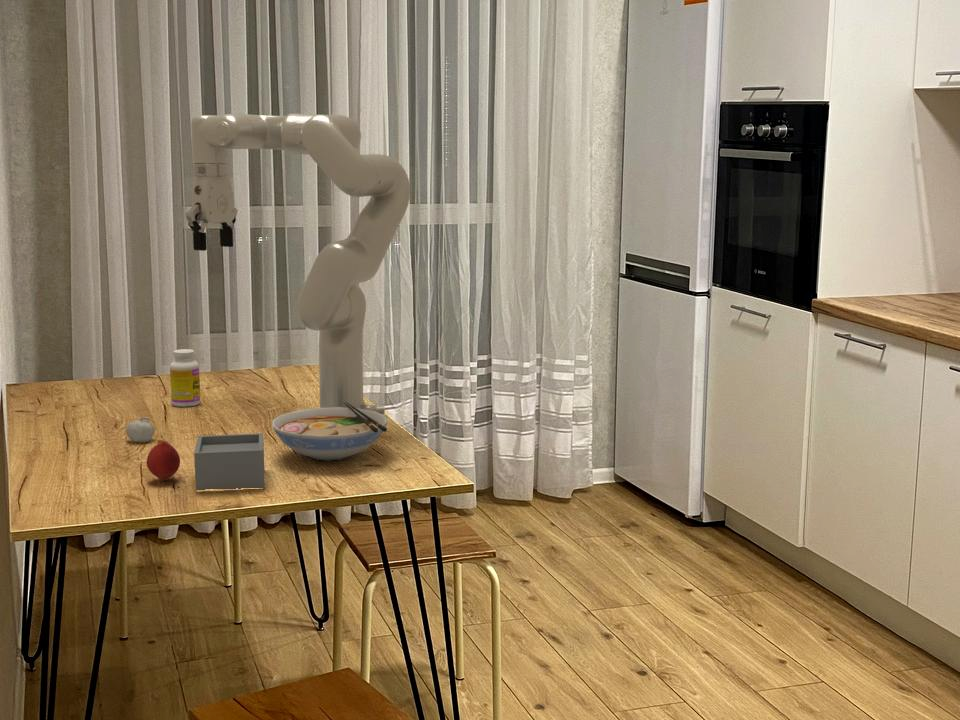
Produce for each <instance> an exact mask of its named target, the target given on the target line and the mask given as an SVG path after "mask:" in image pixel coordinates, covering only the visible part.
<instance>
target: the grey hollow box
mask: <svg viewBox="0 0 960 720" xmlns="http://www.w3.org/2000/svg"><path fill="white" fill-rule="evenodd" d="M264 443H265V441H264V432H260V433H259V432H258V433H239V434H238V433H236V434H235V433H234V434H232V433H231V434H217V435H216V434H214V435H213V434H212V435H197V440H196V443H195V448H194V452H193V453H194V454H193V457H194V458H193V459H194V476H195V480H194V481H195V491H196V490H205V489H236V488H238V489H241V488H265V487H266V486H265V485H266V484H265V483H264V475H265V450H264Z"/></svg>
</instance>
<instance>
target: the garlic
mask: <svg viewBox="0 0 960 720" xmlns="http://www.w3.org/2000/svg"><path fill="white" fill-rule="evenodd" d="M149 420H150V417H148V416H143V417H140V418H139V419H136V420H134V421H131V422H129V423H128V425H127V426H126V436H127V437H128V438H129V440H130V441H131V442H135V443H138V444H139V443H147V442H149V441H150V440H152V438H153V436H154V435H155V433H156V432H155V431H156V430H155V429H156V428H155V426H154V425H153V424H152V423H151V422H150V421H149Z"/></svg>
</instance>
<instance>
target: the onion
mask: <svg viewBox="0 0 960 720" xmlns="http://www.w3.org/2000/svg"><path fill="white" fill-rule="evenodd" d="M157 442H158V443H157V444H156V445H154V446H153V447H152V448H151V449H150V450H149V453H148V455H147V456H146V457H147V458H146V466H147V469H148V470H149V472H150V473H151V474H152V475H153V476H155V477H156V478H157V479H159V480H160V481H161V480H166V481H167V479H168V480H169V479H170V478H172V477H173V476H174V475H175V474H176V473H177V471H178V470H179V468H180V465H181V457H180V454H179V453H178V451H177V449H176V447H175V448H174V446H173V445H171V444H170V443H168V442H167V441H166V440H165V439H163V438H159V439H158V440H157Z"/></svg>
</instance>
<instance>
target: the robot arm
mask: <svg viewBox="0 0 960 720" xmlns="http://www.w3.org/2000/svg"><path fill="white" fill-rule="evenodd" d="M190 123H191V125H190V126H191V129H190V130H191V149H192V167H193V168H192V170H193V171H192V172H193V178H192V187H191V207H190V209H189V210H188V211H187V212H186V213H185V217H186V221H187V222H188V223H187V225H188V226H189V228H190V232H191V233H192V245H193V250H194V251H202V252H203V251H207V250H208V247H207V244H208V242H207V232H205V230H206V227H207V225H208V224H219V226H220V229H219V238H220V239H219V244H220V245H219V246H220V247H226V248H227V247H228V248H232V247H233V246H234V234H233V233H234V231H233V229H234V228H235V222H236V220H237V215H238V209H237V208H236V207H235V202H234V194H233V193H234V192H233V187H232V183H231V178H230V177H229V166H228V165H229V164H228V150H259V149H260V150H278V151H279V150H280V151H282V150H283V151H286V152H287V153H288V154H291V155H309V156H310V157H311V159H312V160H313V161H314V162H315V163H316V164H317V166H318V167H319V168H320V169H321V170H322V172H323V173H324V174H325V175H326V176H327V177H328V178H329V179H330V180H331V182H332V183H333V184H334V185H335V187H337V188H338V189H339V190H340V191H341V192H343V193H344V194H346V195H348V196H350V197H355V198H361V197H362V198H363V197H369V200H368V202H367V204H365V205H364V207H363V208H362V210H361V211H360V213H359V214H358V216H357V219H356V220H355V223H354V226H353V227H352V228H351V231H350V233H349V234H348V236H347V237H345V238H344V239H341V240H336V241H333V242H330V243H328V244H327V245H326V246H324V247H323V248H322V249H321V251H320V252H319V253H318V255H317V256H316V258H315V260H314V262H313V264H312V267H311V269H310V271H309V274H308V275H307V278H306V279H305V282H304V284H303V287H302V289H301V291H300V293H299V296H298V299H297V303H296V310H297V311H296V313H297V317H298V318H299V320H300V322H301V324H302V325H304V326H305V327H306V328H307V329H309V330H311V331H320V334H319V338H318V367H319V368H318V374H319V375H318V377H319V381H318V382H319V408H330V407H344V408H348V407H347V406H346V405H345V404H347V403H348V404H350V405H352V406H353V407H355V408H360V409H365V410H370V411H375V412H378V413H380V414H382V415H385V412H386V411H385V405H378V404H371V405H369V404H367V403H366V402H365V400H364V372H363V371H364V366H363V364H364V363H363V362H364V361H363V353H364V352H363V351H364V349H363V348H364V347H363V346H364V345H363V344H364V343H363V342H364V341H363V340H364V325H365V318H366V311H367V310H366V309H367V301H366V297H365V294H364V292H363V290H362V288H361V287H360V286H358V285H357V284H361V283H365V282H367V281H370V280H371V279H373V278H374V277H375V276H376V274H377V273H378V271H379V269H380V266H381V264H382V263H383V260H384V259H385V256H386V254H387V252H388V250H389V248H390V245H391V244H392V241H393V238H394V237H395V234H396V232H397V230H398V228H399V226H400V224H401V222H402V220H403V218H404V216H405V213H406V212H407V209H408V206H409V203H410V198H411V184H410V180H409V177H408V173H407V171H406V170H405V168H404V167H403V165H402V164H401V163H400V162H399V161H398V160H397V159H395V158H394V157H392V156H389V155H385V154H378V153H377V154H376V153H375V154H374V153H373V154H372V153H371V154H370V153H369V154H360V153H359V151H358V150H357V148H358V147H359V146H360V143H361V139H362V133H361V129H360V127H359V125H358V123H357V122H356V121H355V120H353V119H352V118H350V117H348V116H346V115H342V114H341V115H340V114H311V113H288V114H287V115H269V114H268V115H267V114H266V115H263V114H250V113H249V114H248V113H245V114H244V113H228V114H227V113H226V114H220V115H219V114H218V115H216V114H215V115H214V114H210V115H209V114H200V115H195V116H193V117H192V119H191V122H190ZM344 403H345V404H344ZM348 404H347V405H348ZM348 406H349V405H348ZM349 407H350V408H352V407H351V406H349Z"/></svg>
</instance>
